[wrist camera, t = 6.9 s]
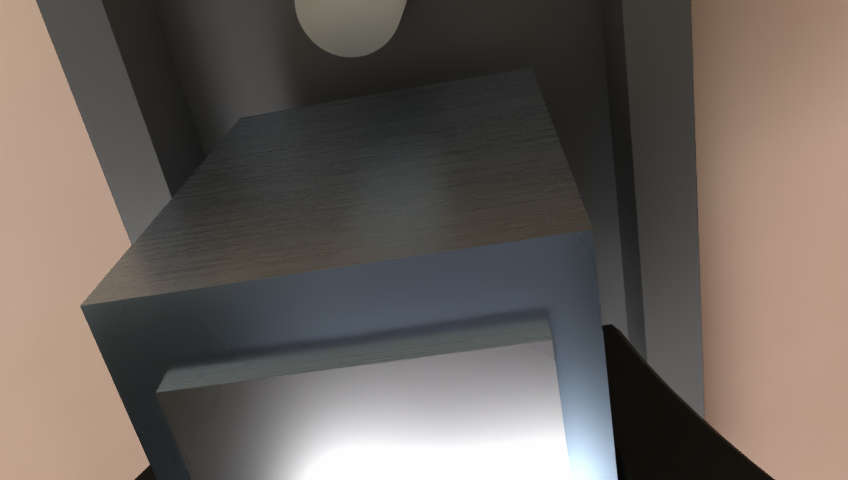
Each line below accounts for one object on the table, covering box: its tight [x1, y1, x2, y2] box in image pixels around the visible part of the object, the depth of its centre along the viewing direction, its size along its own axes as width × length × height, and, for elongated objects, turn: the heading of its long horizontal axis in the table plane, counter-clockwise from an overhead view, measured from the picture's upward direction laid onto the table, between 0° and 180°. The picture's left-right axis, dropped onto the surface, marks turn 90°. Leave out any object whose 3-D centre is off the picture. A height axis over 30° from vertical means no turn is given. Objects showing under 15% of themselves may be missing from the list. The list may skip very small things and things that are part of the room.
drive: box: [81, 67, 618, 480], centre depth 10 cm, size 8×4×5 cm, turn 11°
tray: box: [36, 0, 705, 420], centre depth 12 cm, size 13×8×3 cm, turn 11°
